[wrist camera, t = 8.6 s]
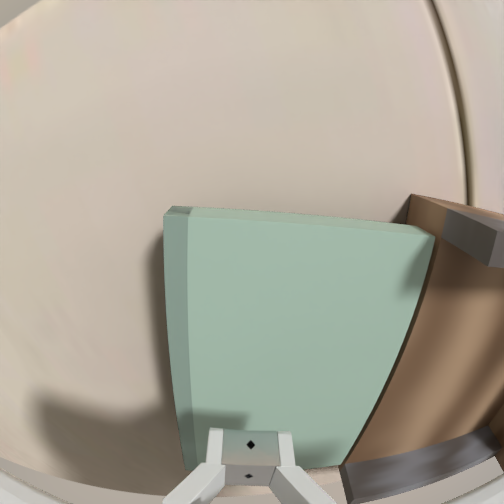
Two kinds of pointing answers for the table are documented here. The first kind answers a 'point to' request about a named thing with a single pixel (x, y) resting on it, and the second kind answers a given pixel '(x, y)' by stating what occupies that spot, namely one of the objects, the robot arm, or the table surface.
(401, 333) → the panel
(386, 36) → the table surface
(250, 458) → the robot arm
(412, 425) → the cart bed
